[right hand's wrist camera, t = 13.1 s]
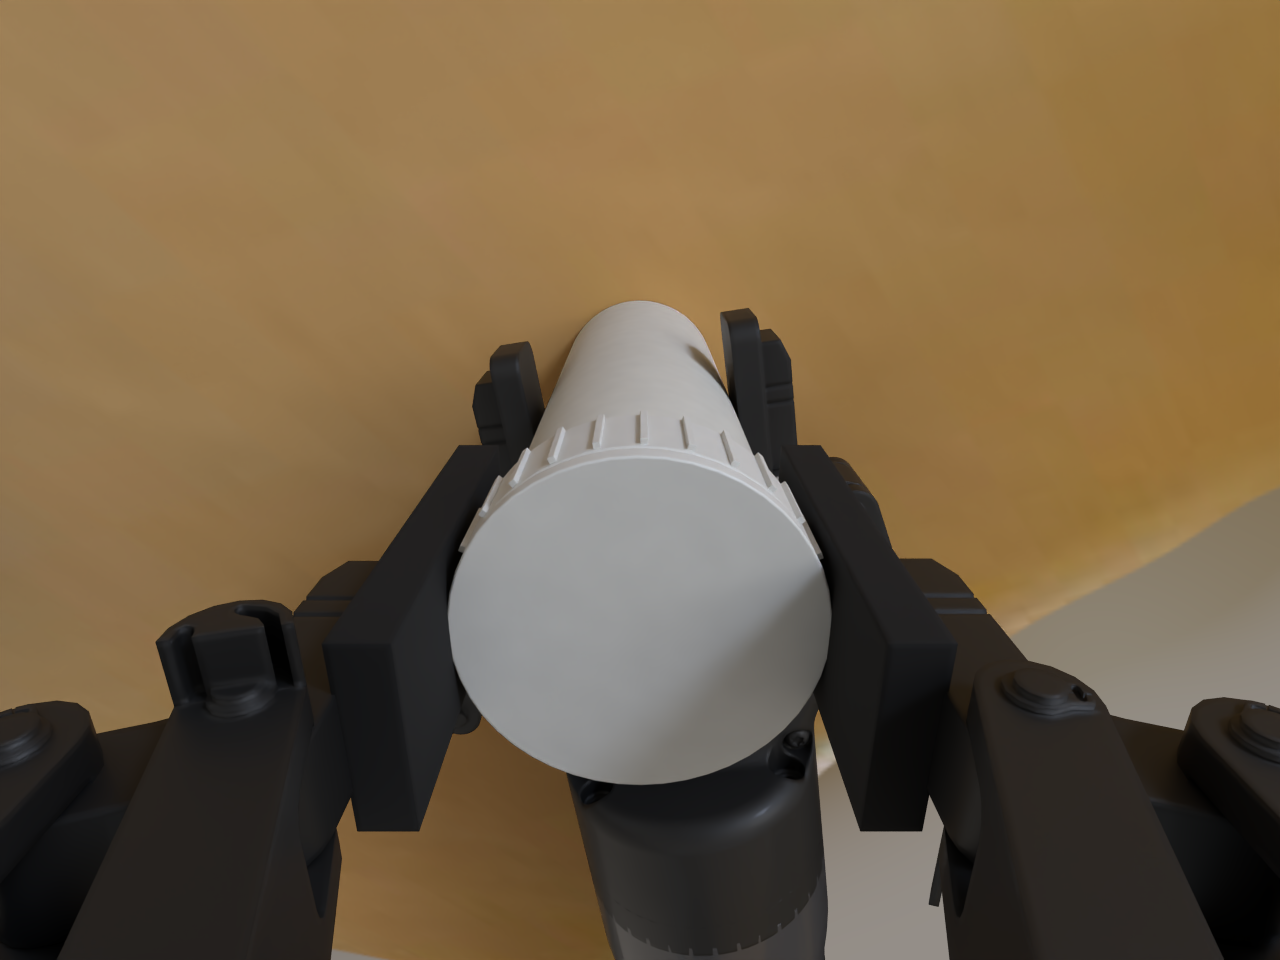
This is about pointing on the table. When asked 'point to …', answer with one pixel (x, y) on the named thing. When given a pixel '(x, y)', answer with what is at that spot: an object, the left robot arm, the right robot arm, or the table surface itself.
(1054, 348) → the table surface
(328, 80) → the table surface
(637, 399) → the jar
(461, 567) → the lid
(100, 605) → the table surface
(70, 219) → the table surface
